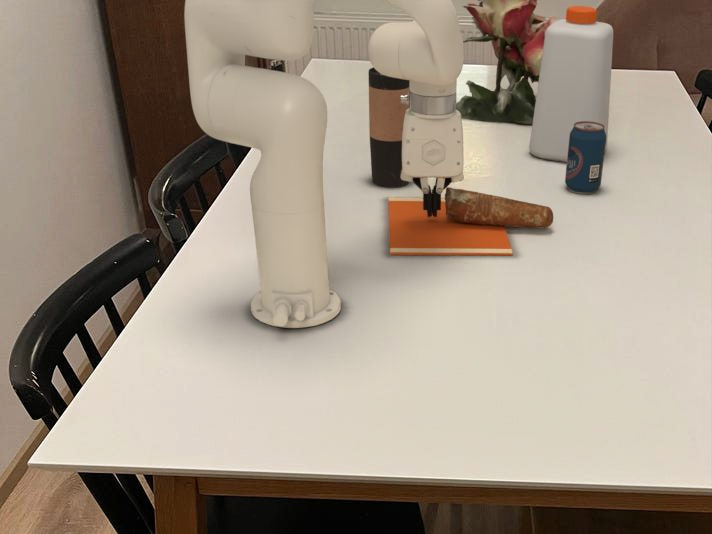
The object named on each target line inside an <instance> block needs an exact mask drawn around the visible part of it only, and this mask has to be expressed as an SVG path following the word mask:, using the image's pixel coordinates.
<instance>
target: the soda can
mask: <svg viewBox="0 0 712 534" xmlns="http://www.w3.org/2000/svg"><path fill="white" fill-rule="evenodd" d="M606 137H607V136H606V133H605V130H604V125H602V124H600V123H597V122H590V121H581V122H576V123H575V124H574V127H573V129H572V131H571V132H570V137H569V147H568V157H567V162H566V166H565V167H566V169H565V176H564V177H565V178H564V182H565V185H566V187H567V189H568V191H569V192H571V193H574V194H577V195H578V194H579V195H590V194H594V193H596V192H597V190H599V189H600V187H601V185H602V179H603V169H604V161H605V152H606V150H605V145H606ZM607 138H608V137H607Z"/></svg>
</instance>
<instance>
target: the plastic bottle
mask: <svg viewBox="0 0 712 534" xmlns="http://www.w3.org/2000/svg"><path fill="white" fill-rule="evenodd" d="M597 17H598V11H597V9H596V8H595V7H591V6H586V5H585V6H584V5H572V6H568V7H567V8H566V13H565V18H560V19H561V20H558V21H556V22H554V23H553V24H551V25H550V26H549V27H548V28H547V30H546V33H545V40H544V47H543V54H542V61H541V68H540V75H539V82H537V91H536V96H535V99H536V103H535V110H534V117H533V124H531V132H530V138H529V139H530V140H529V147H528V149H529V151H530V154H532V155H533V156H534V157H536V158H539V159H543V160H549V161H556V162H562V163H567V157H568V147H569V137H570V132H571V131H572V129H573V127H574V124H575V123H576V122H581V121H590V122H597V123H600V124H602V125H604V130H605V133H606V136H607V137H606V145H605V151H606V150H607V148H608V138H609V137H608V136H609V135H608V134H609V117H610V101H611V100H610V99H611V84H612V83H611V82H612V65H613V47H614V46H613V45H614V29H613V26H612V25H611V24H609V23H607V22H603V21H602V22H601V21H597Z"/></svg>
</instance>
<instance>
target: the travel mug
mask: <svg viewBox="0 0 712 534" xmlns="http://www.w3.org/2000/svg"><path fill="white" fill-rule="evenodd" d="M409 89H410V81H409V80H405V79H399V78H393V77H389V76H386V75H383V74H381V73H379V72H378V71H377V70H376V69H375V68H374V67H373V66H372V67H370V68H369V69H368V123H369V124H368V126H369V127H368V128H369V149H370V150H369V152H370V168H371V169H370V170H371V182H372V183H373V184H374V185H376V186H379V187H383V188H398V187H399V188H400V187H404V186H407V185H408V184H409V183H410V182H408V181H404V180H402V179H401V177H400V174H401V170H402V134H403V124H404V117H405V113H406V110H407V109H410V107H408V105H405V104H401V95H405V94H408V92H409Z"/></svg>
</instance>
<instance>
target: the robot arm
mask: <svg viewBox="0 0 712 534" xmlns="http://www.w3.org/2000/svg"><path fill="white" fill-rule="evenodd" d="M386 1H387V2H388V3H390V4H392V5H394V6H395V7H397V8H398V9H400V10H402V11H403V12H404V13H405V14H407V15H408V16H409V17H410V18H411V19H412V21H405V22H404V21H403V22H401V21H400V22H399V21H397V22H396V21H393V22H386V23H384V24H382V25H380V26H379V27H377V28H376V29H375V30H374V31H373V33H372V34H371V37H370V39H369V42H368V47H367V54H368V60H369V63H370V64H371V65H372V68H373V67H374V68H375V69H376V70H377V71H378V72H379V73H381V74H383V75H386V76H389V77H393V78H399V79H405V80H409V81H410V89H409V92H408V94H405V95H401V104H405V105H408V107H410V109H407V110H406V113H405V117H404V124H403V134H402V170H401V174H400V177H401V179H402V180H404V181H408V182H409V183H413V184H415V186H416V187H417V188H418V189H419V190H421V192H422V198H423V210H427V215H428V217H431V216H432V215H433V216H434V217H437V210H441V198H442V194H443V192H444V190H446V188H447V187H449V186H450V185H451V184H452V183H458V182H461V181H463V180H464V178H465V175H464V164H465V163H464V162H465V161H464V160H465V159H464V157H465V156H464V128H463V118H461V114H460V112H459V111H458V110H456V103H457V87H458V86H457V81H458V78H459V77H460V75H461V73H462V70H463V67H464V61H465V48H464V47H465V46H464V43H463V41H464V40H463V35H462V31H461V25H460V22H459V18H458V13H457V10H456V7H455V5H454V3H453V1H452V0H386ZM183 12H184V13H183V14H184V15H183V17H184V33H185V44H186V46H185V47H186V58H187V59H186V60H187V69H188V70H187V71H188V82H189V94H190V102H191V107H192V111H193V115H194V118H195V120H196V123H197V124H198V126H199V128H200V129H201V130H202V131H203V132H204V133H205V134H206V135H207V136H209V137H210V138H213V139H215V140H218V141H221V142H225V143H229V144H234V145H238V146H243V147H248V148H252V149H255V150H258V151H260V159H259V162H258V163H257V165H256V167H255V169H254V171H253V173H252V175H251V179H250V183H249V195H250V204H251V212H252V222H253V231H254V240H255V250H256V251H255V252H256V261H257V271H258V280H259V289H260V292H258V293H257V294H256V295H254V296H253V298H252V299H251V301H250V312H251V314H252V316H253V317H254V318H255V319H256V320H258V321H259V322H261V323H263V324H266V325H269V326H272V327H278V328H285V329H303V328H309V327H315V326H319V325H322V324H324V323H328V322H330V321H331V320H333V319H334V318H335V317H337V316H338V315H339V313H340V312H341V309H342V301H341V298H340V296H339V295H338V294H337V293H336V292H335V291H334V290H332V289H330V283H329V265H328V263H329V262H328V247H327V229H326V212H325V197H324V196H325V194H324V164H323V163H324V150H325V141H326V134H327V128H328V127H327V126H328V106H327V101H326V99H325V97H324V95H323V93H322V91H321V89H320V88H318V87H317V86H316V85H315V83H313V82H311V80H308V79H307V78H305V77H303V76H300V75H298V74H294V73H289V72H284V71H280V70H274V69H268V68H262V67H255V66H250V65H249V66H248V65H246V56H248V57H249V56H250V57H255V58H262V59H266V60H267V59H268V60H274V61H286V62H287V61H289V62H290V61H296V60H299V59H301V58H303V57H304V56H306V55H307V54H308V52H309V51H310V49H311V47H312V43H313V38H314V31H315V30H314V29H315V0H185V1H184V11H183ZM428 178H431V179H432V178H433V179H434V178H435V183H434V185H433V186H432V189H431V185H430V184H429V179H428Z"/></svg>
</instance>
